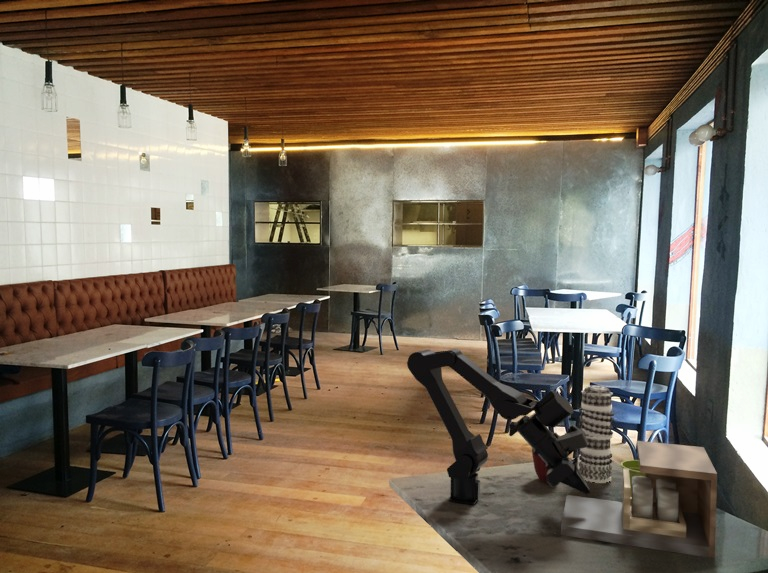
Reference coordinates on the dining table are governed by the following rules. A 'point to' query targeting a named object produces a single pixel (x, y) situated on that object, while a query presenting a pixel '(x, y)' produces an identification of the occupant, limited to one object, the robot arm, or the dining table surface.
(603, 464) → the white patterned cylinder
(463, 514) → the dining table surface
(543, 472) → the mug
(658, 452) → the wooden display stand
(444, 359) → the robot arm
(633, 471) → the plant pot
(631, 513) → the tray
